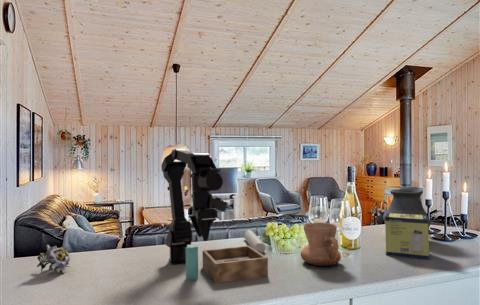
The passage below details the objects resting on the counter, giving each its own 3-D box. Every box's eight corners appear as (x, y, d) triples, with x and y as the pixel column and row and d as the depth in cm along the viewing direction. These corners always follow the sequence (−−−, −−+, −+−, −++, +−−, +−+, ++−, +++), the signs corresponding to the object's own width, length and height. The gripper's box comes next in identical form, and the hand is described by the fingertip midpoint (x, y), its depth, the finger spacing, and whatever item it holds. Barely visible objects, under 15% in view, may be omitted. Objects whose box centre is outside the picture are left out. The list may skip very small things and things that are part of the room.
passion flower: (62, 289, 116) (58, 267, 110) (30, 284, 115) (24, 261, 109) (77, 262, 126) (74, 240, 119) (47, 257, 125) (43, 235, 118)
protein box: (386, 249, 145) (385, 212, 145) (428, 253, 138) (427, 215, 138) (385, 255, 135) (384, 216, 135) (429, 260, 128) (429, 219, 129)
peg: (187, 281, 108) (186, 249, 108) (184, 277, 112) (184, 246, 112) (199, 279, 109) (199, 248, 109) (196, 275, 113) (196, 245, 113)
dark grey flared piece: (375, 240, 160) (374, 187, 160) (394, 233, 175) (393, 184, 175) (422, 248, 145) (420, 190, 145) (438, 239, 160) (437, 187, 160)
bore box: (215, 283, 106) (215, 264, 106) (202, 267, 122) (202, 250, 122) (267, 276, 112) (267, 257, 112) (249, 261, 128) (248, 245, 128)
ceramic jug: (292, 259, 131) (291, 222, 131) (324, 255, 136) (324, 219, 136) (317, 273, 114) (317, 231, 114) (353, 268, 119) (352, 228, 119)
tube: (268, 244, 139) (255, 231, 163) (256, 240, 138) (245, 227, 163) (264, 257, 138) (252, 241, 163) (252, 253, 138) (241, 238, 162)
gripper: (232, 189, 106) (234, 240, 104) (217, 189, 123) (219, 232, 122) (197, 191, 102) (199, 244, 101) (187, 191, 120) (188, 235, 119)
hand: (202, 238), depth 111 cm, fingers open, 9 cm apart
